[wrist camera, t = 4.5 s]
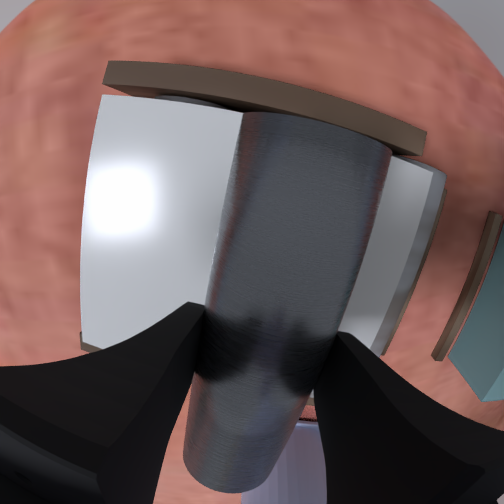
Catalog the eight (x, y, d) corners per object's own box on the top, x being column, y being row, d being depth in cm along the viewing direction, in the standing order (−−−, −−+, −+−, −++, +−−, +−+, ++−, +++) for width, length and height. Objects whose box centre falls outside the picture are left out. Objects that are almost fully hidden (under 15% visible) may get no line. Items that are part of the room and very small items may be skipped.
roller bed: (427, 374, 21) (449, 409, 17) (110, 314, 20) (80, 349, 16) (502, 189, 16) (543, 201, 12) (142, 79, 15) (108, 60, 11)
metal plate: (336, 377, 16) (342, 400, 15) (98, 323, 16) (82, 341, 14) (412, 169, 13) (433, 172, 11) (122, 101, 12) (102, 94, 10)
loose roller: (267, 428, 14) (277, 494, 10) (186, 419, 13) (179, 487, 9) (356, 152, 10) (422, 157, 6) (239, 121, 9) (246, 102, 5)
